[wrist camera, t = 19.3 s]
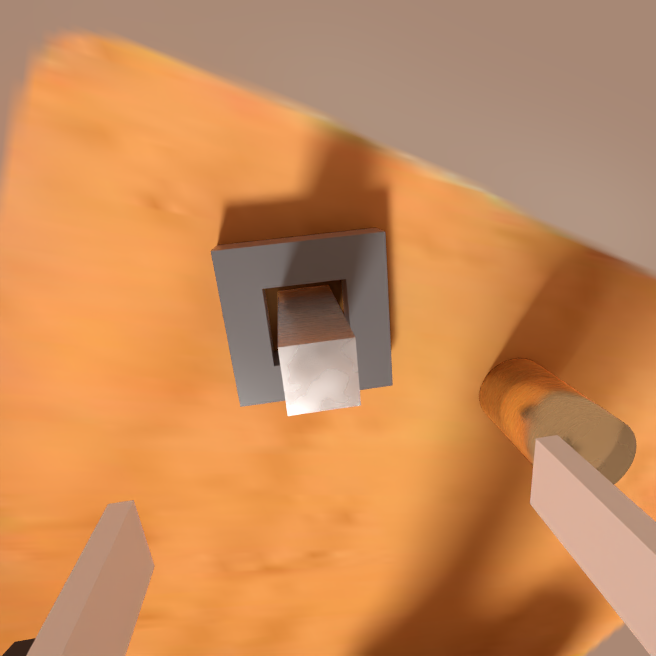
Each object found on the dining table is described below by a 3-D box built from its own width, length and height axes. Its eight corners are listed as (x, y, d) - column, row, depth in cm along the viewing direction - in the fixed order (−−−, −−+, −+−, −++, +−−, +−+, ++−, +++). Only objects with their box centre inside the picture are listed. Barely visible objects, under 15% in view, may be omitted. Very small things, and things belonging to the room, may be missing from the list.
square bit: (328, 284, 32) (355, 337, 21) (332, 332, 34) (360, 405, 22) (277, 290, 32) (277, 347, 21) (284, 338, 33) (287, 415, 22)
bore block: (375, 227, 31) (385, 231, 28) (383, 369, 35) (392, 385, 32) (217, 245, 30) (210, 251, 27) (243, 388, 34) (240, 406, 31)
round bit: (549, 353, 37) (643, 411, 27) (543, 416, 39) (628, 489, 29) (480, 363, 36) (551, 425, 27) (478, 426, 38) (542, 504, 29)
